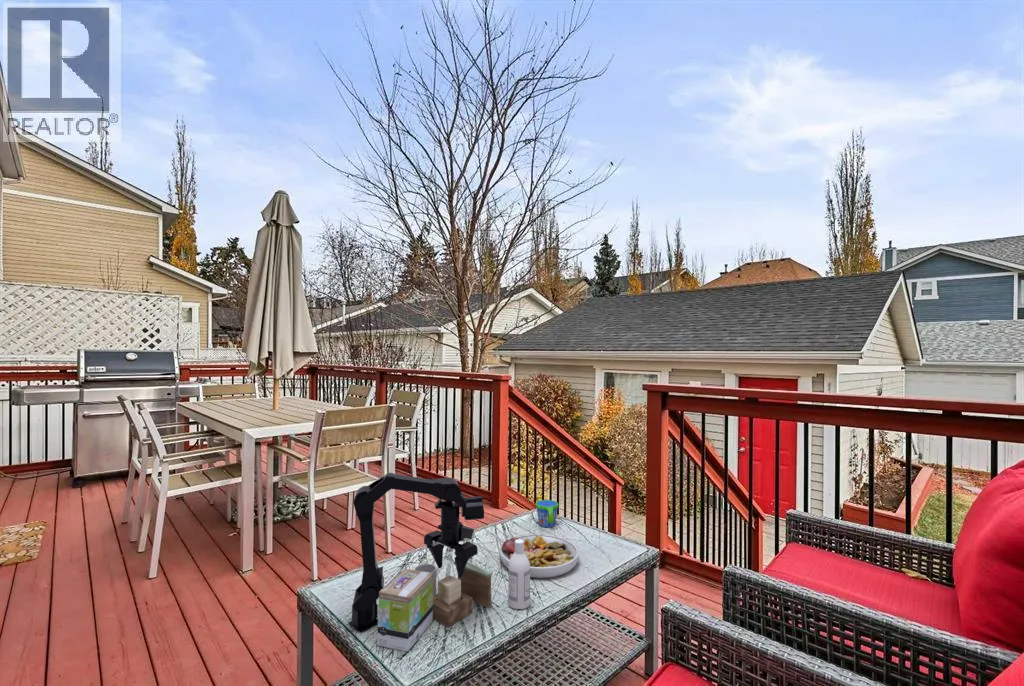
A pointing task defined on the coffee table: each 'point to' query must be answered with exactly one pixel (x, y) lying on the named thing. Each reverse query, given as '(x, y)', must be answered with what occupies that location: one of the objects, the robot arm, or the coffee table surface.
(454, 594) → the peg
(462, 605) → the socket block
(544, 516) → the snack cup
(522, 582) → the bath foam
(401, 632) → the tea box
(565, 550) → the bowl
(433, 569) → the cup
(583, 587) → the coffee table surface
